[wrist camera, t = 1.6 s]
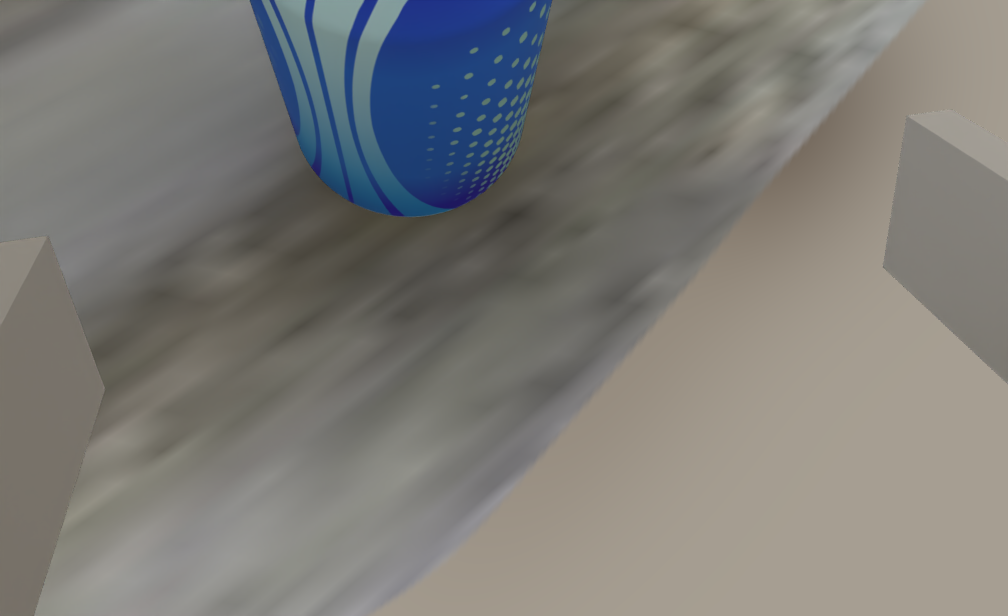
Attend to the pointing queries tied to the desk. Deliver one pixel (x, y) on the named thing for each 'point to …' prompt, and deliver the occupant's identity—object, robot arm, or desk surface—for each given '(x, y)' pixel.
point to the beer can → (405, 93)
